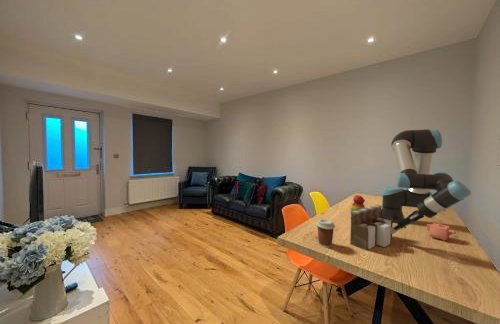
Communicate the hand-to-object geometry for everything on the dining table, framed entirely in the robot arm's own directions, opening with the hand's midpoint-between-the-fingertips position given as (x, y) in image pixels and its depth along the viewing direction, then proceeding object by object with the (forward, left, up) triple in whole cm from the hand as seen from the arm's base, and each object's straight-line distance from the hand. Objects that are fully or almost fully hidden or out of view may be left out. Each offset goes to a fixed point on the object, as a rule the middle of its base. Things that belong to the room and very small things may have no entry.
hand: (390, 231), depth 110 cm
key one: (0, -4, -5) cm, 6 cm away
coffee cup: (+34, -16, -5) cm, 38 cm away
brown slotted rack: (+9, -5, -5) cm, 11 cm away
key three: (+18, -4, -5) cm, 19 cm away
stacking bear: (-19, -28, -5) cm, 34 cm away
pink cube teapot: (-27, +14, -5) cm, 31 cm away
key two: (+9, -1, -5) cm, 10 cm away
